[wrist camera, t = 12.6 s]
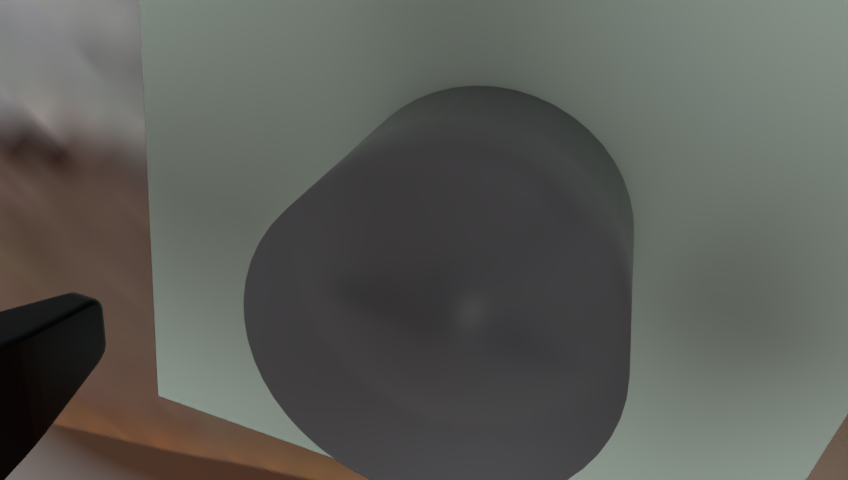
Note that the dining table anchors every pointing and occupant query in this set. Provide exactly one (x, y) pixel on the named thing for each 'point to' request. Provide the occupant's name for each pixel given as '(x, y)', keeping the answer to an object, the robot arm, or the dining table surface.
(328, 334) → the gray rounded pebble
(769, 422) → the lid
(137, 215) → the dining table surface
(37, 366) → the robot arm
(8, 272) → the dining table surface
